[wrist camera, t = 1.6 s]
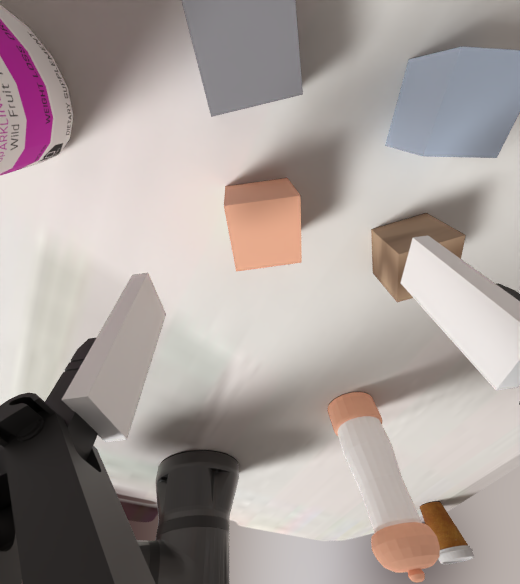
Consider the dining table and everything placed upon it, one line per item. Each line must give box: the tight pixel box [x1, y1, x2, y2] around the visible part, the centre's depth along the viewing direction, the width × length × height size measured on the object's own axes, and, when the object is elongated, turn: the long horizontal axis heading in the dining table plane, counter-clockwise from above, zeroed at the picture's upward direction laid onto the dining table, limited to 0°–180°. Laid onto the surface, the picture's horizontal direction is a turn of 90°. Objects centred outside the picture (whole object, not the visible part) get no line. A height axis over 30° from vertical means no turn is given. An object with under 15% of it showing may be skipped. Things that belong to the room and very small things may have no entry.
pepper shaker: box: [328, 392, 440, 582], centre depth 34 cm, size 7×7×19 cm
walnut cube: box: [371, 213, 465, 302], centre depth 23 cm, size 5×5×5 cm
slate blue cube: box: [385, 47, 520, 158], centre depth 17 cm, size 5×5×5 cm
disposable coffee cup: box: [420, 502, 474, 564], centre depth 75 cm, size 10×10×12 cm
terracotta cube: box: [224, 178, 301, 271], centre depth 20 cm, size 5×5×5 cm
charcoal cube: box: [182, 0, 303, 117], centre depth 15 cm, size 5×5×5 cm
